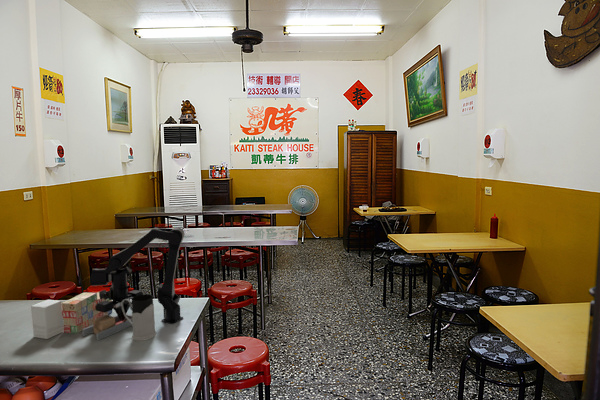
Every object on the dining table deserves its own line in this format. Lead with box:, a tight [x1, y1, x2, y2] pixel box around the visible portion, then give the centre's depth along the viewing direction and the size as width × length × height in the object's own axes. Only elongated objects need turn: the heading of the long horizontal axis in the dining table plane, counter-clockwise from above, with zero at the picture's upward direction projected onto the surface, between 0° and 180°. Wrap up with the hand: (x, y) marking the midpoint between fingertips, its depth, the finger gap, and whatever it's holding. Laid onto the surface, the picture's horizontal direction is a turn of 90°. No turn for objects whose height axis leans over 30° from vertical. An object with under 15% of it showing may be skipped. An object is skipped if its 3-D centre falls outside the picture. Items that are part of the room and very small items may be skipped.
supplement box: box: [30, 299, 64, 340], centre depth 146 cm, size 7×7×13 cm
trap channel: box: [81, 313, 133, 341], centre depth 151 cm, size 10×18×2 cm, turn 153°
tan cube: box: [92, 314, 115, 335], centre depth 148 cm, size 6×6×6 cm
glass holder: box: [121, 293, 157, 341], centre depth 145 cm, size 9×14×15 cm, turn 73°
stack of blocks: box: [61, 291, 113, 334], centre depth 158 cm, size 21×6×12 cm, turn 171°
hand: (121, 320), depth 155 cm, fingers closed
